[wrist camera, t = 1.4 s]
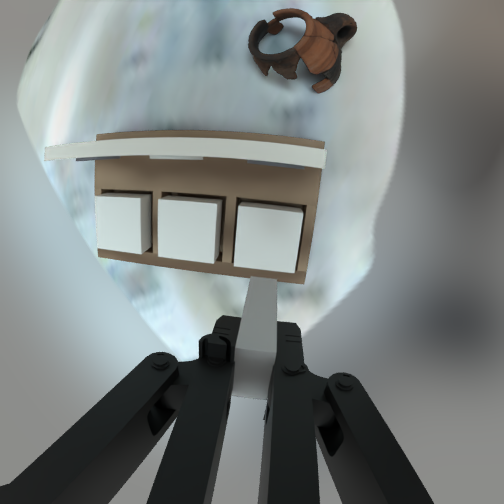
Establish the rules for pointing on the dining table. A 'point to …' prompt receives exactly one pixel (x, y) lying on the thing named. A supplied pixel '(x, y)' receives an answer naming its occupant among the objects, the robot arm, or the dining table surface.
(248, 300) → the robot arm
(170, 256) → the middle button
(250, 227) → the button
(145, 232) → the button
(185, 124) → the dining table surface
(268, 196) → the button board
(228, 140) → the pattern card
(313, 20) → the pottery mug
